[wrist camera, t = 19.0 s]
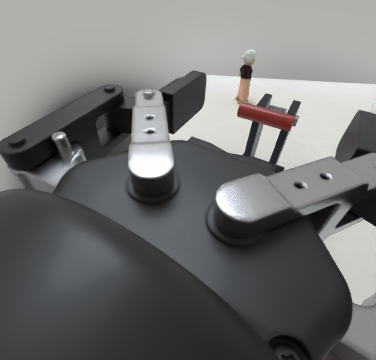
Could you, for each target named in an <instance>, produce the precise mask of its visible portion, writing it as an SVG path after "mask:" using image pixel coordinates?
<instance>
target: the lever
mask: <svg viewBox="0 0 376 360" xmlns="http://www.w3.org/2000/svg"><path fill="white" fill-rule="evenodd" d="M286 111H287V109H285V108H281V107H277V106H274V105H269V108H268V109H267V108H263V107H259V106H255V105H252V104H248V103H244V102H242V103H241V104H240V106H239V109H238V113H237V116H238V117H241V118H244V119H248V120H251V121H254V122H258V123H261V124H265V125H268V126H272V127H275V128H278V129H282V130H285V131H289V132H290V130H291V128H292V126H293V123H294V121H295V118H296V116H293V115H289V114H285V113H286Z"/></svg>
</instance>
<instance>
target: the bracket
mask: <svg viewBox="0 0 376 360" xmlns="http://www.w3.org/2000/svg"><path fill="white" fill-rule="evenodd" d="M271 98H272V95H270V94H265V95H264V96H263V98H262V99H261V100H260V102H259V103H258V104H257V105H256V106H259V107H263V108H267V109H268V108H269V105H270V101H271ZM300 104H301V102H299V101H295V100H294V101H293V103H292V105H291V107H290V108H289V110H288V112H287V114H289V115H293V116H296V114H297V111H298V109H299V106H300ZM298 118H299V116H296V118H295V121H294V123H293V126H296V123H297V121H298ZM263 125H264V124H261V123H258V122H254V121H253V122H252V125H251V129H250V133H249V137H248V141H247V145H246V149H245V153H244V154H243V155H242V156H248V157H253V158H255V157H254V155H255V152H256V148H257V145H258V141H259V138H260V135H261V131H262V128H263ZM288 134H289V131H285V130H282V129H281V131H280V134H279V137H278V139H277V142H276V145H275V148H274V150H273V153H272V156H271V159H270V161H269V162H267V161H264V160H262V161H264V162H267V163H270V164H273V165H274V166H273V168H272V171H273V172H275V173H279V172H282V171H284V167H282V166H279V165H276V164H277V162H278V159H279V157H280V154H281V152H282V149H283V147H284V144H285V142H286V139H287V136H288ZM256 159H258V158H256ZM259 160H261V159H259Z"/></svg>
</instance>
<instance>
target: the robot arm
mask: <svg viewBox="0 0 376 360" xmlns="http://www.w3.org/2000/svg"><path fill="white" fill-rule="evenodd" d="M205 89H206V74H205V73H202V72H198V71H192V72H190V73H188V74H187V75H185V76H184V77H181V78H178V79H175V80H174V81H172V82H171V83H169V84H168V85H166V86H164V87H163V88H161V89H160V90H156V89H143V90H140V91H138V92H137V93H136V97H132V96H124V93H123V88H122V87H121V86H118V85H105V86H101V87H99V88H97V89H95V90H94V91H92V92H90V93H88V94H86V95H84V96H83V97H81V98H79V99H77V100H75V101H73V102H71V103H69V104H68V105H66V106H64V107H62V108H60V109H58V110H57V111H55V112H53V113H51V114H49V115H47V116H45V117H43V118H42V119H40V120H38V121H36V122H34V123H32V124H30V125H29V126H27V127H25V128H23V129H21V130H19V131H17V132H16V133H14V134H12V135H10V136H8V137H6V138H4V139H3V140H2V141H0V154H1V156H2V157H3V159H4V160H5V162H6V163H7V165H8V168H9V170H10V171H11V173H12V174H13V175H14V177H15V178H16V180H17V181H18V183H19V184H20V186H21V187H22V188H24V189H13V190H5V191H1V192H0V360H324V359H325V357H326V356H327V354H328V353H330V354H332V355H333V356H335V357H336V358H338V359H340V360H376V293H375V294H374V295H372V296H370V297H369V298H367V299H366V300H364V301H363V303H362V305H357V304H354V303H352V298H351V293H350V290H349V287H348V285H347V283H346V281H345V279H344V277H343V275H342V273H341V272H340V270H339V268H338V267H337V265H336V263H335V262H334V260H333V258H332V256H331V255H330V253H329V251H328V250H327V248H326V246H325V245H324V243H323V241H324V240H325V239H326V238H327V237H329V236H330V235H332V234H334V233H337V232H339V231H341V230H343V229H345V228H348V227H350V226H352V225H354V224H356V223H359V222H361V221H362V220H366V221H368V222H369V223H371V224H373V225H374V226H376V114H374V113H370V112H366V111H362V110H359V111H358V112H357V113H356V115H355V116H354V118H353V120H352V121H351V123H350V125H349V126H348V128H347V130H346V132H345V133H344V135H343V137H342V138H341V140H340V142H339V144H338V147H337V150H336V156H335V158H333V157H327V158H323V159H320V160H317V161H314V162H311V163H308V164H304V165H301V166H298V167H295V168H292V169H288V170H285V171H282V172H279V173H275V172H273V171H272V168H273V166H274V165H273V164H270V163H267V162H264V161H262V160H259V159H256V158H253V157H248V156H242V155H237V154H231V153H227V152H225V151H224V150H222V149H220V148H218V147H217V146H215V145H213V144H211V143H209V142H206V141H203V140H200V139H197V138H194V137H191V138H190V139H189V140H188V141H183V140H173V141H170V138H169V133H171V134H174V133H175V132H177V131H178V130H179V129H180V128H181V127H182V126H183V125H184V124H185V123H186V122H188V121H189V120H190V119H191V118H192V117H193V116H194V115H195V114H196V113H197V112H199V111H200V110H201V109H202V107H203V104H204V100H205ZM101 115H103V117H104V120H105V126H104V127H102V128H101V129H100V130H98V131H97V129H96V120H97V119H98V117H100V116H101ZM130 134H132V135H131V144H130V145H129V150H128V151H124V152H120V153H116V154H112V155H107V154H108V153H109V152H110V151H111V150H112V149H114V148H115V147H116V146H117V145H118V144H120V143H121V142H122V141H123V140H124V139H125V138H127V137H128V136H129V135H130ZM105 155H107V156H105Z"/></svg>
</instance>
